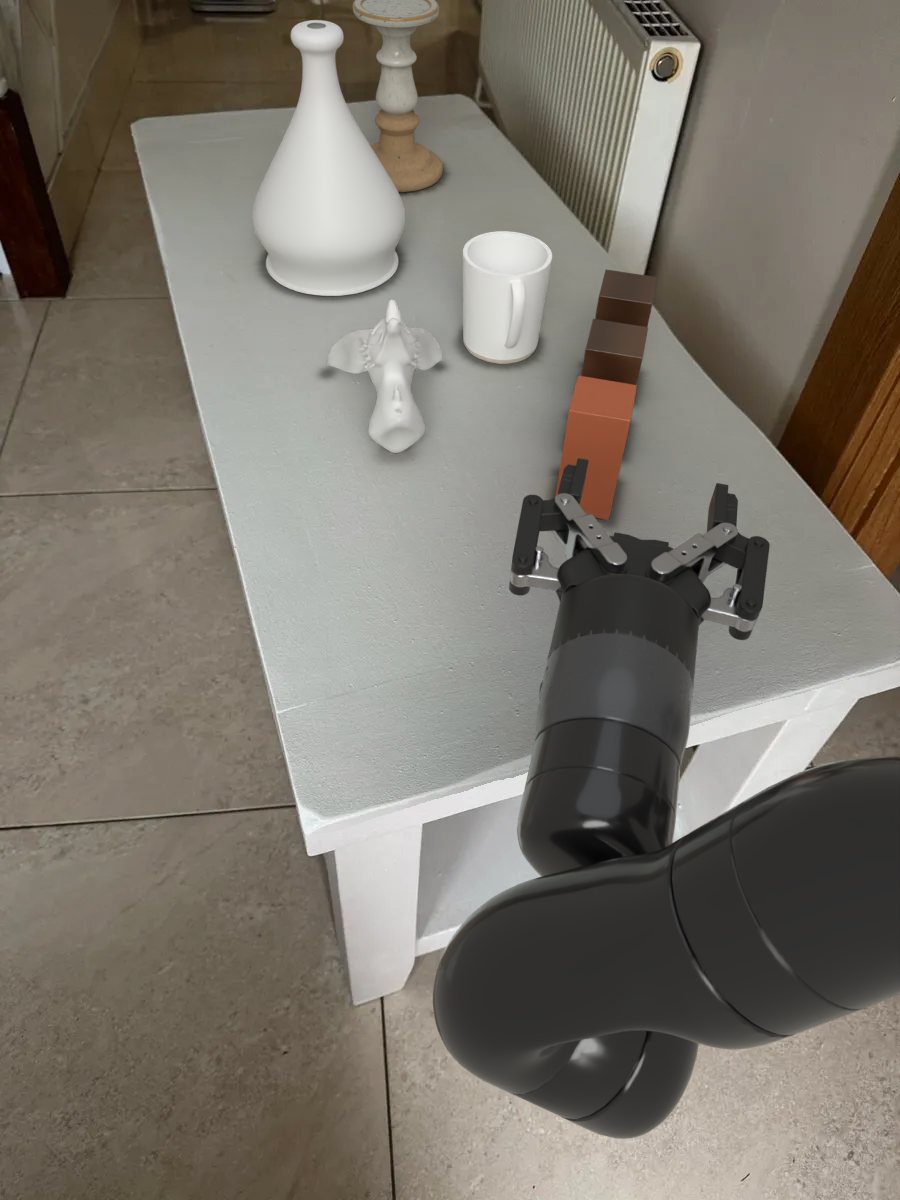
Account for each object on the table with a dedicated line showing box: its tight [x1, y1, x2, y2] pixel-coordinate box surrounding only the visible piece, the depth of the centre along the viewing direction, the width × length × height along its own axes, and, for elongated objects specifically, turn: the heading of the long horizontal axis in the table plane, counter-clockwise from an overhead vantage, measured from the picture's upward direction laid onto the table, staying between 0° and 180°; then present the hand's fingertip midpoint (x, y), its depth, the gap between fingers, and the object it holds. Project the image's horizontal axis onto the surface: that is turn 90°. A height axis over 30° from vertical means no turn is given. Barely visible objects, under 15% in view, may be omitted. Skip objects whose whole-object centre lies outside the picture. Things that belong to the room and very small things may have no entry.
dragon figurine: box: [326, 299, 444, 454], centre depth 86 cm, size 12×18×13 cm
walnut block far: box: [594, 269, 658, 328], centre depth 92 cm, size 5×5×11 cm
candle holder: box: [352, 0, 444, 193], centre depth 119 cm, size 12×12×20 cm
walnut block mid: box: [580, 318, 649, 386], centre depth 86 cm, size 5×5×11 cm
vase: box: [251, 19, 407, 297], centre depth 101 cm, size 17×17×25 cm
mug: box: [462, 230, 553, 365], centre depth 96 cm, size 11×9×10 cm
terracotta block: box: [554, 375, 638, 521], centre depth 80 cm, size 5×5×11 cm
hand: (649, 481), depth 58 cm, fingers open, 8 cm apart
